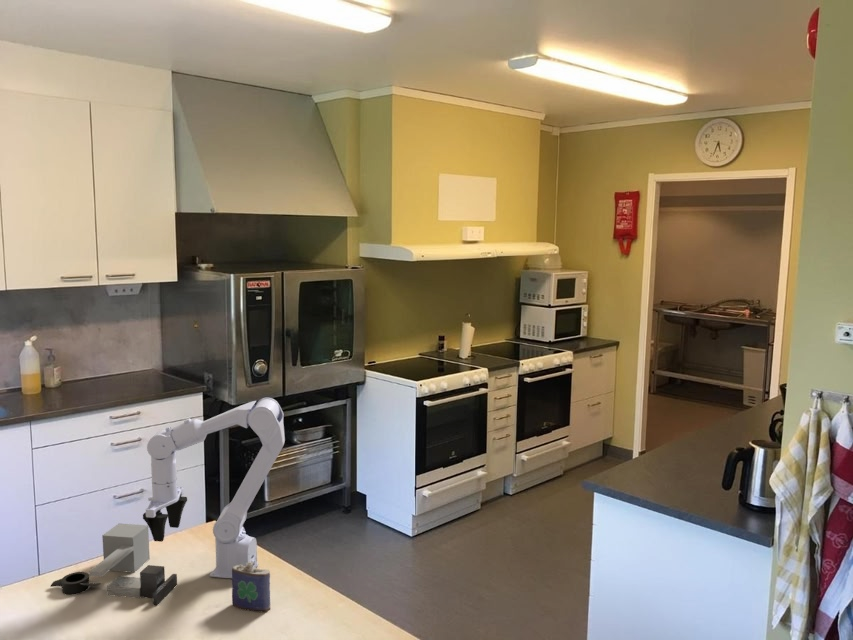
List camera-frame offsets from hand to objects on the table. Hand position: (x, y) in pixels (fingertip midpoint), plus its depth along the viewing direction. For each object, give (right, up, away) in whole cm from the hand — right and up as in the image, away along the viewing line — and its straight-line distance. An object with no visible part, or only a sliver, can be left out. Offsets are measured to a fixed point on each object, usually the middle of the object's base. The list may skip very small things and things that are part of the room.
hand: (166, 533), depth 167 cm
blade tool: (-3, -11, -8) cm, 14 cm away
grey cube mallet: (-13, -10, -2) cm, 16 cm away
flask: (+24, -12, -14) cm, 30 cm away
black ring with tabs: (-19, -11, -7) cm, 23 cm away
